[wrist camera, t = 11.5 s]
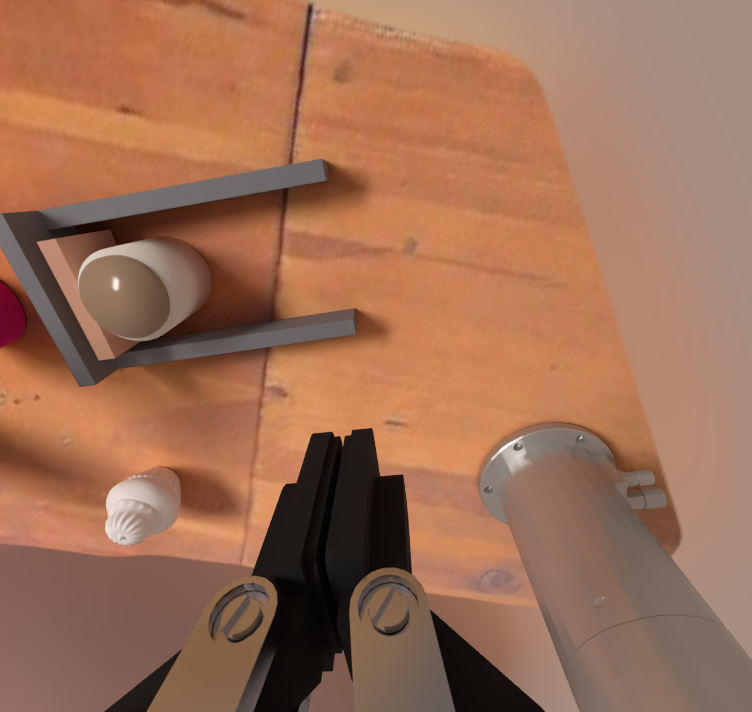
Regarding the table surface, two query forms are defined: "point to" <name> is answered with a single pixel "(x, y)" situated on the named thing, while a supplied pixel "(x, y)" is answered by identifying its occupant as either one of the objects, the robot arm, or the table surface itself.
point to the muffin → (143, 506)
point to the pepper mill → (10, 317)
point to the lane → (31, 227)
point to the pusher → (65, 266)
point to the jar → (144, 286)
